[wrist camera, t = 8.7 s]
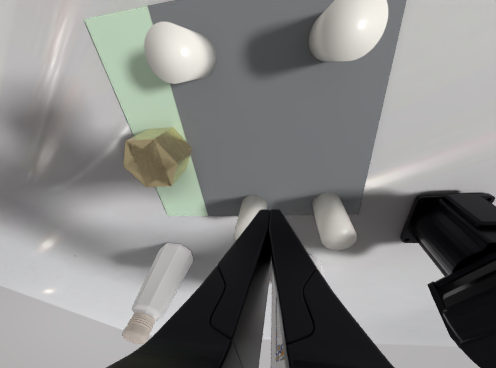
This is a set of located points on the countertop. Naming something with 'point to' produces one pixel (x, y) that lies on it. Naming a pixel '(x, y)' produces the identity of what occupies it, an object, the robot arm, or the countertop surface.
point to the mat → (254, 103)
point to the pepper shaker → (158, 291)
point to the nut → (157, 156)
